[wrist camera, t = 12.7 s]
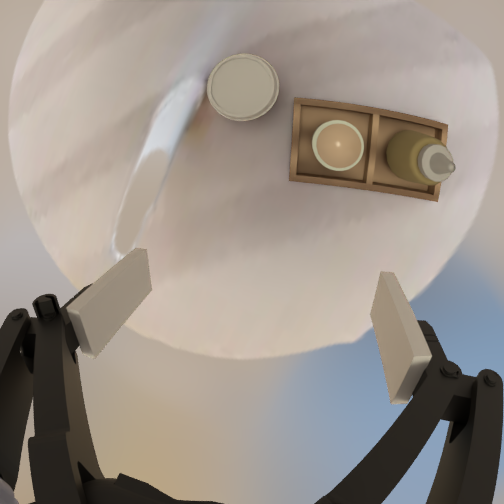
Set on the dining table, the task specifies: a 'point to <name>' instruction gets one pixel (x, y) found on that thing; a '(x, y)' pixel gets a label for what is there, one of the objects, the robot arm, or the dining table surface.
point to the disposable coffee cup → (243, 87)
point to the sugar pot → (337, 145)
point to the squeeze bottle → (419, 158)
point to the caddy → (375, 146)
